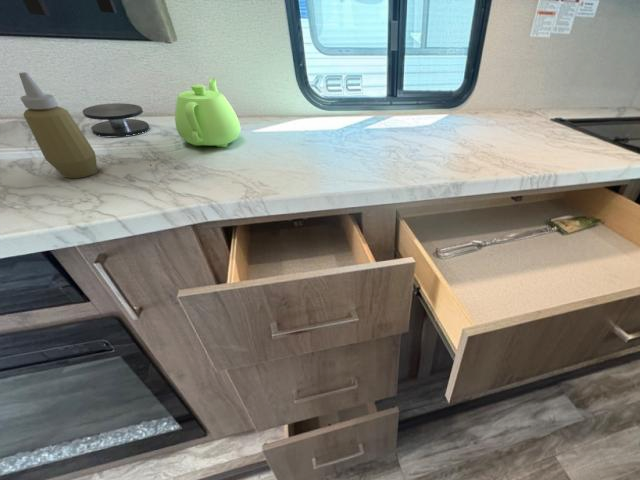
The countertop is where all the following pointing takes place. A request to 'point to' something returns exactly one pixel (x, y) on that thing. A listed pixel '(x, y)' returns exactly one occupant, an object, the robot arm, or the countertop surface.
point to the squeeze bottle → (57, 132)
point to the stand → (116, 119)
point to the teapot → (206, 117)
